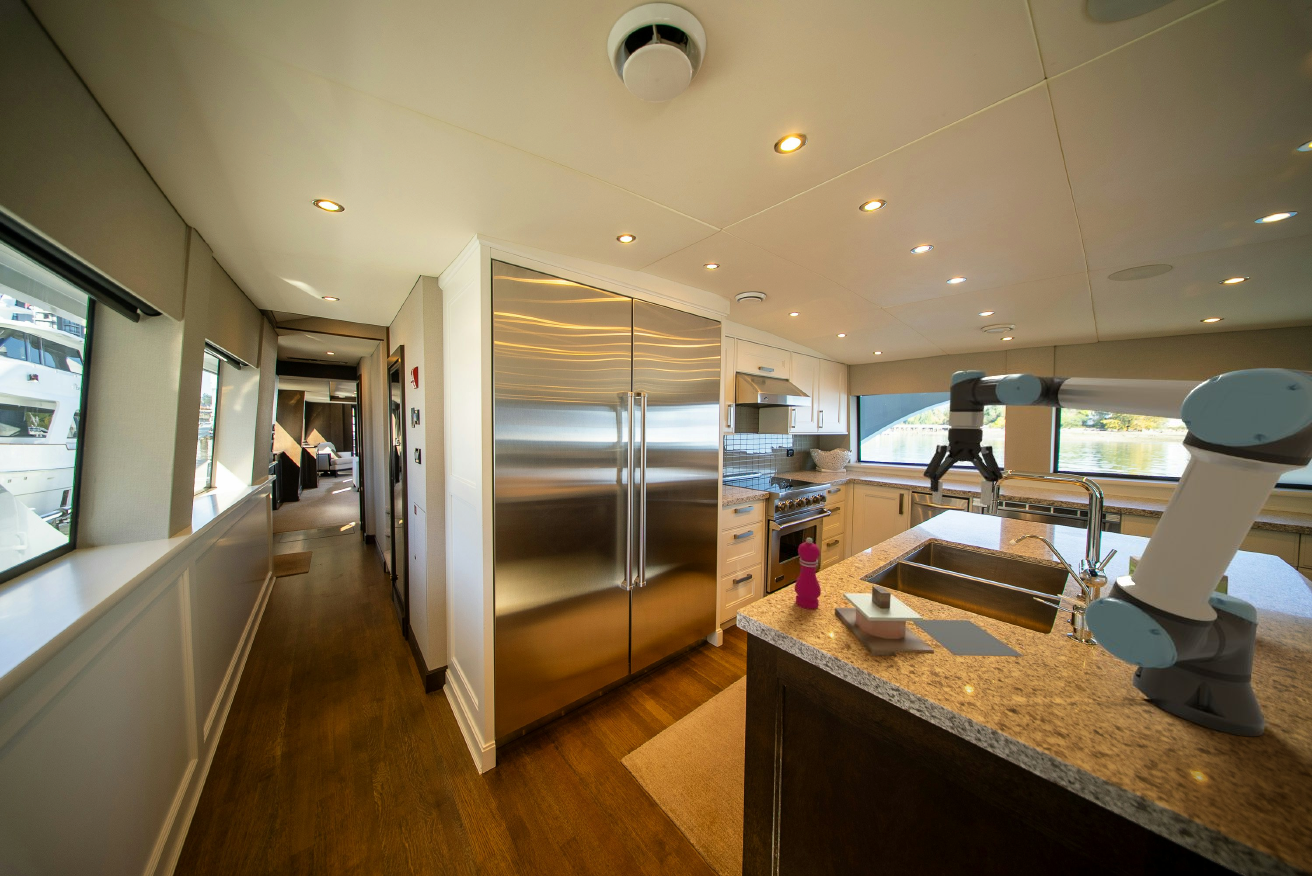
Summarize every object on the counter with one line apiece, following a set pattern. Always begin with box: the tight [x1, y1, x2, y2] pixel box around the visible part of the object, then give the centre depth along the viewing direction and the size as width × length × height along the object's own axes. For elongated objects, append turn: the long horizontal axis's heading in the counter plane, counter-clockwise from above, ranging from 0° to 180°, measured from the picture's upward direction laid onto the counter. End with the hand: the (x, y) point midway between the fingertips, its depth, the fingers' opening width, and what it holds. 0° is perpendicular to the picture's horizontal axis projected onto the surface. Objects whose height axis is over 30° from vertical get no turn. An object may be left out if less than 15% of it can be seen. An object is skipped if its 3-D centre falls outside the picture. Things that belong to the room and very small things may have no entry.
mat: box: [911, 619, 1024, 657], centre depth 99 cm, size 16×16×1 cm
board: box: [834, 607, 935, 657], centre depth 102 cm, size 20×14×2 cm
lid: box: [843, 585, 924, 622], centre depth 102 cm, size 13×13×5 cm
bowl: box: [856, 609, 907, 639], centre depth 102 cm, size 11×11×5 cm
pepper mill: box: [794, 537, 822, 610], centre depth 117 cm, size 7×7×20 cm
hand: (961, 503), depth 110 cm, fingers open, 13 cm apart
